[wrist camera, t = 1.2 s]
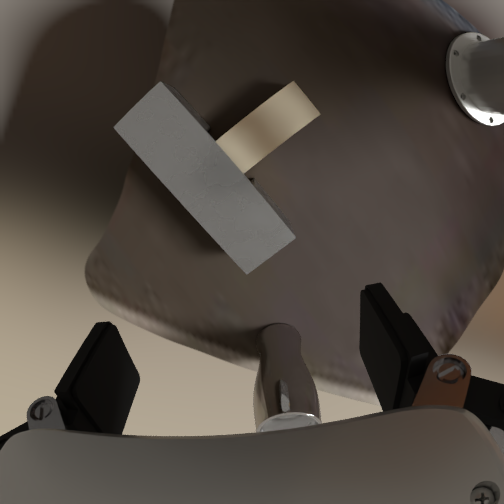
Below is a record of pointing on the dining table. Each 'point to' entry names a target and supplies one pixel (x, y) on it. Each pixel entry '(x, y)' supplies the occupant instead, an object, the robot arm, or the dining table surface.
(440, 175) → the dining table surface
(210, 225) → the housing
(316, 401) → the beer glass
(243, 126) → the bar
